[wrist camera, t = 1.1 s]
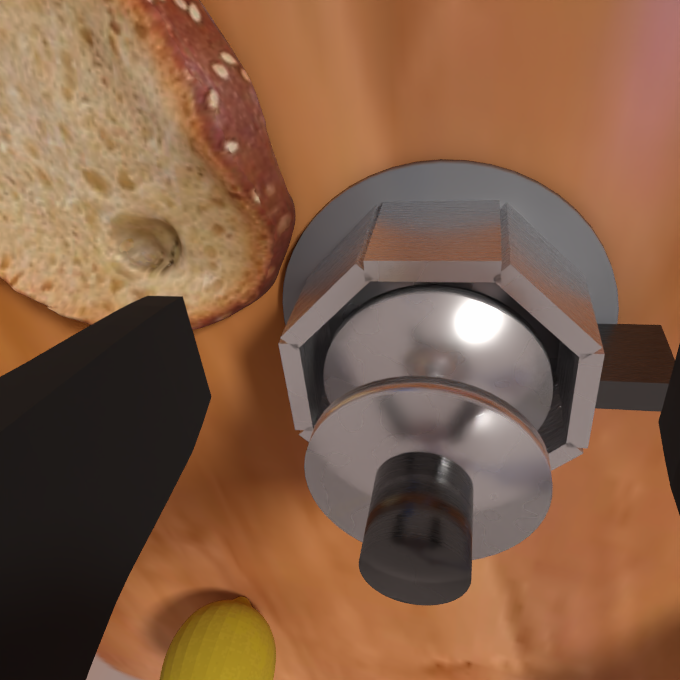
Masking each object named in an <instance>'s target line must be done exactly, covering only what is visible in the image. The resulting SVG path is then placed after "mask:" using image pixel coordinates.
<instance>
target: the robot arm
mask: <svg viewBox="0 0 680 680" xmlns="http://www.w3.org/2000/svg"><path fill="white" fill-rule="evenodd" d="M210 399H211V394H210V390H209V387H208V383H207V380H206V376H205V373H204V369H203V366H202V362H201V359H200V355H199V352H198V348H197V345H196V341H195V338H194V334H193V331H192V327H191V323H190V320H189V316H188V313H187V309H186V306H185V302H184V299H183V296H146V297H143V298H141V299H139V300H136V301H134V302H132V303H130V304H128V305H126V306H124V307H122V308H121V309H119V310H117V311H115V312H113V313H111V314H110V315H108V316H106V317H104V318H102V319H101V320H99V321H97V322H95V323H94V324H92V325H90V326H89V327H87V328H85V329H83V330H82V331H80V332H78V333H76V334H75V335H73V336H71V337H70V338H68V339H66V340H64V341H63V342H61V343H59V344H58V345H56V346H54V347H52V348H51V349H49V350H47V351H46V352H44V353H42V354H40V355H39V356H37V357H35V358H34V359H32V360H30V361H28V362H27V363H25V364H23V365H21V366H19V367H18V368H16V369H14V370H12V371H10V372H8V373H7V374H5V375H3V376H1V377H0V680H86V678H87V675H88V672H89V670H90V667H91V664H92V662H93V659H94V657H95V654H96V652H97V649H98V647H99V644H100V642H101V639H102V637H103V634H104V632H105V629H106V626H107V624H108V621H109V619H110V616H111V614H112V611H113V609H114V606H115V604H116V602H117V599H118V597H119V595H120V593H121V591H122V589H123V587H124V584H125V582H126V580H127V578H128V576H129V574H130V572H131V570H132V568H133V566H134V564H135V562H136V560H137V558H138V556H139V555H140V553H141V551H142V549H143V547H144V545H145V543H146V541H147V539H148V537H149V535H150V533H151V532H152V530H153V528H154V526H155V524H156V522H157V520H158V518H159V516H160V514H161V512H162V510H163V509H164V507H165V505H166V503H167V501H168V499H169V497H170V495H171V493H172V491H173V489H174V487H175V485H176V483H177V481H178V479H179V477H180V475H181V473H182V472H183V470H184V468H185V466H186V464H187V462H188V460H189V457H190V455H191V453H192V451H193V449H194V446H195V443H196V441H197V438H198V435H199V432H200V430H201V427H202V424H203V421H204V418H205V415H206V412H207V409H208V406H209V403H210ZM659 427H660V433H661V439H662V445H663V451H664V456H665V462H666V467H667V472H668V476H669V481H670V486H671V490H672V493H673V496H674V499H675V502H676V505H677V508H678V511H679V514H680V345H679V348H678V352H677V356H676V359H675V363H674V367H673V370H672V374H671V378H670V381H669V385H668V389H667V393H666V396H665V400H664V404H663V407H662V411H661V415H660V418H659Z"/></svg>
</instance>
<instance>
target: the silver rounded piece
mask: <svg viewBox="0 0 680 680" xmlns="http://www.w3.org/2000/svg"><path fill="white" fill-rule="evenodd" d="M323 376H324V387H325V391H326V396H327V398H328V401H329V403H330V406H329V407H328V408H327V409H326V410H325V411H324V412H323V414H322V415H321V416H320V418H319V419H318V421H317V423H316V425H315V427H314V429H313V432H312V435H311V438H310V441H309V445H308V448H307V451H306V455H305V464H304V469H305V478H306V481H307V485H308V488H309V490H310V492H311V495H312V497H313V499H314V500H315V502H316V503H317V505H318V506H319V508H320V509H321V510H322V511H323V512H324V514H325V515H326V516H327V517H328V518H329V519H330V520H331V521H332V522H333V523H334V524H336V525H337V526H338V527H339V528H341V529H342V530H343V531H345V532H346V533H347V534H349V535H351V536H352V537H354V538H355V539H357V540H359V541H361V542H363V544H362V549H361V554H360V559H359V569H360V572H361V574H362V576H363V578H364V579H365V581H366V582H367V583H368V584H369V585H370V586H371V587H372V588H374V589H375V590H376V591H378V592H380V593H381V594H383V595H385V596H387V597H389V598H392V599H394V600H397V601H400V602H404V603H409V604H415V605H438V604H444V603H448V602H451V601H453V600H456V599H457V598H459V597H461V596H462V595H463V594H464V593H465V592H466V591H467V590H468V588H469V586H470V584H471V571H472V560H475V559H480V558H484V557H488V556H491V555H495V554H498V553H500V552H502V551H505V550H507V549H509V548H511V547H513V546H515V545H517V544H518V543H520V542H521V541H523V540H524V539H526V538H527V537H528V536H530V535H531V534H532V533H533V532H534V531H535V530H536V529H537V528H538V526H539V525H540V524H541V522H542V521H543V519H544V518H545V516H546V514H547V512H548V510H549V507H550V503H551V499H552V477H551V467H550V461H549V455H548V452H547V449H546V446H545V443H544V442H543V440H542V438H541V436H540V435H539V433H538V430H539V428H540V427H541V425H542V424H543V422H544V420H545V419H546V416H547V414H548V412H549V409H550V406H551V401H552V397H553V379H552V372H551V365H550V360H549V356H548V353H547V350H546V348H545V346H544V344H543V342H542V340H541V338H540V337H539V335H538V334H537V332H536V331H535V330H534V328H533V327H532V326H531V325H530V324H529V323H528V322H527V321H526V320H525V319H524V318H523V317H522V316H521V315H520V314H519V313H517V312H516V311H515V310H513V309H512V308H511V307H509V306H508V305H506V304H504V303H503V302H501V301H499V300H497V299H495V298H493V297H491V296H488V295H486V294H484V293H481V292H478V291H475V290H471V289H468V288H464V287H458V286H453V285H442V284H421V285H412V286H406V287H401V288H397V289H394V290H390V291H387V292H385V293H382V294H380V295H378V296H375V297H373V298H371V299H370V300H368V301H366V302H365V303H363V304H361V305H360V306H359V307H358V308H356V309H355V310H354V311H353V312H351V313H350V314H349V315H348V317H347V318H346V319H345V320H344V321H343V322H342V323H341V325H340V326H339V328H338V329H337V331H336V332H335V335H334V337H333V339H332V341H331V344H330V346H329V349H328V352H327V356H326V359H325V363H324V373H323Z"/></svg>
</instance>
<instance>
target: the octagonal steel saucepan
mask: <svg viewBox="0 0 680 680" xmlns="http://www.w3.org/2000/svg"><path fill="white" fill-rule="evenodd" d="M421 284H442V285H453V286H458V287H464V288H468V289H471V290H475V291H478V292H481V293H484V294H486V295H488V296H491V297H493V298H495V299H497V300H499V301H501V302H503V303H504V304H506V305H508V306H509V307H511V308H512V309H513V310H515V311H516V312H517V313H519V314H520V315H521V316H522V317H523V318H524V319H525V320H526V321H527V322H528V323H529V324H530V325H531V326H532V327H533V328H534V330H535V331H536V332H537V334H538V335H539V337H540V338H541V340H542V342H543V344H544V346H545V348H546V350H547V353H548V356H549V360H550V365H551V372H552V379H553V397H552V401H551V406H550V409H549V412H548V414H547V416H546V419H545V420H544V422H543V424H542V425H541V427H540V428H539V430H538V433H539V435H540V436H541V438H542V440H543V442H544V443H545V446H546V449H547V452H548V455H549V461H550V467H551V470H553V469H555V468H557V467H559V466H561V465H563V464H564V463H566V462H568V461H570V460H572V459H574V458H576V457H577V456H579V455H581V454H583V448H588V443H589V438H590V432H591V427H592V421H593V416H594V410H595V408H602V409H622V410H642V411H662V407H663V404H664V400H665V396H666V393H667V389H668V385H669V381H670V378H671V374H672V370H673V367H674V363H675V360H674V357H673V354H672V352H671V349H670V347H669V344H668V342H667V339H666V337H665V334H664V332H663V329H662V326H661V325H635V324H597V321H596V317H595V313H594V309H593V305H592V301H591V297H590V293H589V289H588V285H587V282H586V279H585V276H584V275H583V274H582V273H581V272H580V271H579V270H578V269H577V268H576V267H575V266H574V265H573V264H572V263H571V262H570V261H569V260H567V259H566V258H565V257H564V256H563V255H562V254H561V253H560V252H559V251H558V250H557V249H556V248H555V247H554V246H553V245H552V244H551V243H549V242H548V241H547V240H546V239H545V238H544V237H543V236H542V235H541V234H540V233H539V232H538V231H537V230H536V229H535V228H534V227H532V226H531V225H530V224H529V223H528V222H527V221H526V220H525V219H524V218H523V217H522V216H521V215H520V214H519V213H518V212H517V211H516V210H514V209H513V208H512V207H511V206H510V205H509V204H508V203H506V204H504V205H503V206H502V207H501V208H500V200H455V201H400V202H383V203H382V206H381V208H380V207H379V206H377V205H376V206H375V207H374V208H373V209H372V210H371V211H370V212H369V213H368V214H367V215H366V216H365V217H364V218H363V219H362V220H361V221H360V222H359V223H358V224H357V225H356V226H355V227H354V228H353V229H352V230H351V231H350V232H349V234H348V235H347V236H346V237H345V238H344V239H343V240H342V241H341V242H340V243H339V244H338V245H337V246H336V247H335V248H334V249H333V250H332V251H331V252H330V253H329V254H328V255H327V256H326V257H325V258H324V259H323V260H322V262H321V263H320V264H319V265H318V266H317V267H316V268H315V269H314V270H313V271H312V272H311V273H310V274H309V276H308V279H307V281H306V283H305V285H304V287H303V289H302V292H301V294H300V296H299V298H298V300H297V302H296V305H295V307H294V309H293V311H292V313H291V315H290V318H289V320H288V322H287V324H286V326H285V328H284V331H283V333H282V335H281V337H280V338H281V339H280V341H279V343H278V344H279V349H280V354H281V360H282V365H283V370H284V375H285V380H286V385H287V390H288V396H289V401H290V406H291V411H292V416H293V421H294V426H295V430H300V432H299V435H300V436H301V437H303V438H304V439H305V440H307V441H308V442H309V441H310V438H311V435H312V432H313V429H314V427H315V425H316V423H317V421H318V419H319V418H320V416H321V415H322V414H323V412H324V411H325V410H326V409H327V408H328V407H329V406H330V403H329V401H328V398H327V396H326V391H325V387H324V376H323V373H324V363H325V359H326V356H327V352H328V349H329V346H330V344H331V341H332V339H333V337H334V335H335V332H336V331H337V329H338V328H339V326H340V325H341V323H342V322H343V321H344V320H345V319H346V318H347V317H348V315H349V314H350V313H351V312H353V311H354V310H355V309H356V308H358V307H359V306H360V305H361V304H363V303H365V302H366V301H368V300H370V299H371V298H373V297H375V296H378V295H380V294H382V293H385V292H387V291H390V290H394V289H397V288H401V287H406V286H412V285H421Z"/></svg>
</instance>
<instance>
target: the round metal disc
mask: <svg viewBox="0 0 680 680" xmlns="http://www.w3.org/2000/svg"><path fill="white" fill-rule="evenodd" d="M455 200H500V208H501V207H502V206H503V205H504V204H506V203H508V204H509V205H510V206H511V207H512V208H513V209H514V210H516V211H517V212H518V213H519V214H520V215H521V216H522V217H523V218H524V219H525V220H526V221H527V222H528V223H529V224H530V225H531V226H532V227H534V228H535V229H536V230H537V231H538V232H539V233H540V234H541V235H542V236H543V237H544V238H545V239H546V240H547V241H548V242H549V243H551V244H552V245H553V246H554V247H555V248H556V249H557V250H558V251H559V252H560V253H561V254H562V255H563V256H564V257H565V258H566V259H567V260H569V261H570V262H571V263H572V264H573V265H574V266H575V267H576V268H577V269H578V270H579V271H580V272H581V273H582V274H583V275H584V276H585V279H586V282H587V285H588V289H589V293H590V297H591V301H592V305H593V309H594V313H595V317H596V321H597V324H617V320H618V310H619V307H618V292H617V286H616V282H615V278H614V274H613V270H612V267H611V263H610V261H609V259H608V256H607V254H606V252H605V249H604V247H603V245H602V243H601V241H600V240H599V238H598V237H597V235H596V234H595V232H594V230H593V229H592V227H591V226H590V225H589V224H588V222H587V221H586V220H585V219H584V218H583V217H582V216H581V214H580V213H579V212H578V211H577V210H576V209H575V208H574V207H573V206H571V205H570V204H569V203H568V202H567V201H566V200H564V199H563V198H562V197H561V196H560V195H558V194H557V193H555V192H554V191H552V190H551V189H549V188H547V187H546V186H544V185H543V184H541V183H539V182H538V181H535V180H533V179H531V178H529V177H527V176H524V175H522V174H520V173H518V172H515V171H512V170H509V169H505V168H502V167H499V166H495V165H492V164H486V163H480V162H474V161H467V160H442V159H440V160H430V161H420V162H413V163H409V164H404V165H400V166H395V167H392V168H389V169H386V170H383V171H381V172H378V173H375V174H373V175H370V176H368V177H366V178H364V179H362V180H361V181H359V182H357V183H355V184H353V185H351V186H349V187H348V188H347V189H345V190H344V191H342V192H341V193H340V194H338V195H337V196H336V197H334V198H333V199H332V200H331V201H330V202H329V203H328V204H326V205H325V206H324V207H323V208H322V209H321V210H320V211H319V212H318V213H317V214H316V216H315V217H314V218H313V220H312V221H311V222H310V224H309V225H308V226H307V227H306V229H305V231H304V232H303V234H302V236H301V238H300V240H299V241H298V243H297V245H296V247H295V249H294V251H293V253H292V256H291V258H290V261H289V264H288V267H287V270H286V275H285V280H284V285H283V312H284V321H285V324H287V322H288V320H289V318H290V315H291V313H292V311H293V309H294V307H295V305H296V302H297V300H298V298H299V296H300V294H301V292H302V289H303V287H304V285H305V283H306V281H307V279H308V276H309V274H310V273H311V272H312V271H313V270H314V269H315V268H316V267H317V266H318V265H319V264H320V263H321V262H322V260H323V259H324V258H325V257H326V256H327V255H328V254H329V253H330V252H331V251H332V250H333V249H334V248H335V247H336V246H337V245H338V244H339V243H340V242H341V241H342V240H343V239H344V238H345V237H346V236H347V235H348V234H349V232H350V231H351V230H352V229H353V228H354V227H355V226H356V225H357V224H358V223H359V222H360V221H361V220H362V219H363V218H364V217H365V216H366V215H367V214H368V213H369V212H370V211H371V210H372V209H373V208H374V207H375V206H376V205H377V206H379V207H380V208H381V206H382V203H383V202H400V201H455Z"/></svg>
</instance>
